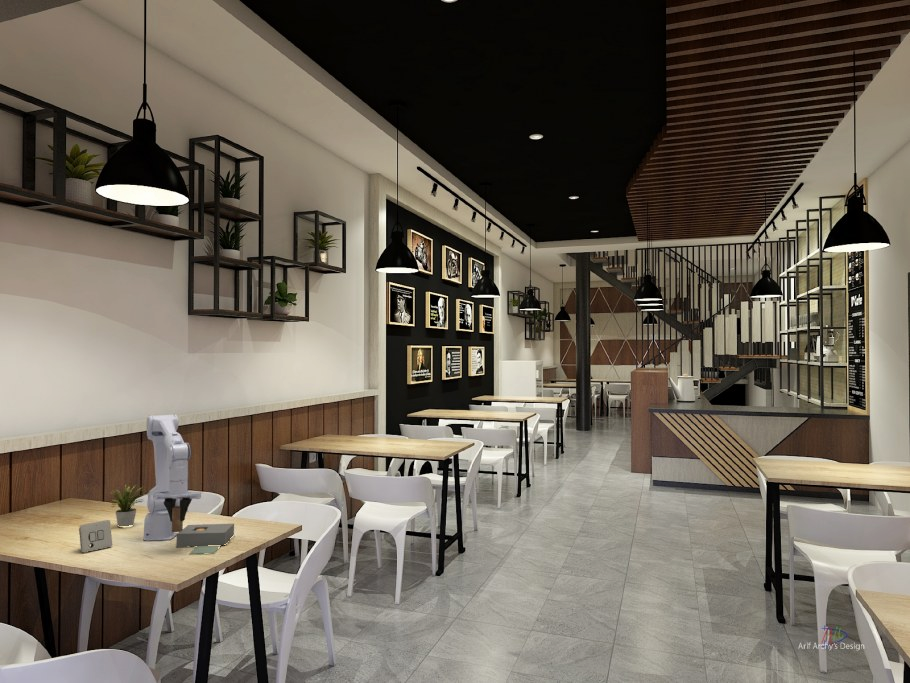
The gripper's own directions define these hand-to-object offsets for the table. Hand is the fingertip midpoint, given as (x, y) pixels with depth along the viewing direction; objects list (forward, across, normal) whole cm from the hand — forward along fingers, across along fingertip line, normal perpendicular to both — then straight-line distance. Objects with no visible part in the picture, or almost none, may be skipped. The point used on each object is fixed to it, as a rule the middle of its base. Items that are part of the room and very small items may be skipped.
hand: (177, 520), depth 202 cm
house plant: (+10, -31, +32) cm, 46 cm away
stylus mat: (+10, +10, -1) cm, 14 cm away
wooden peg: (+3, 0, 0) cm, 3 cm away
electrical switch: (+10, -28, +4) cm, 31 cm away
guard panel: (+10, +6, +10) cm, 15 cm away
